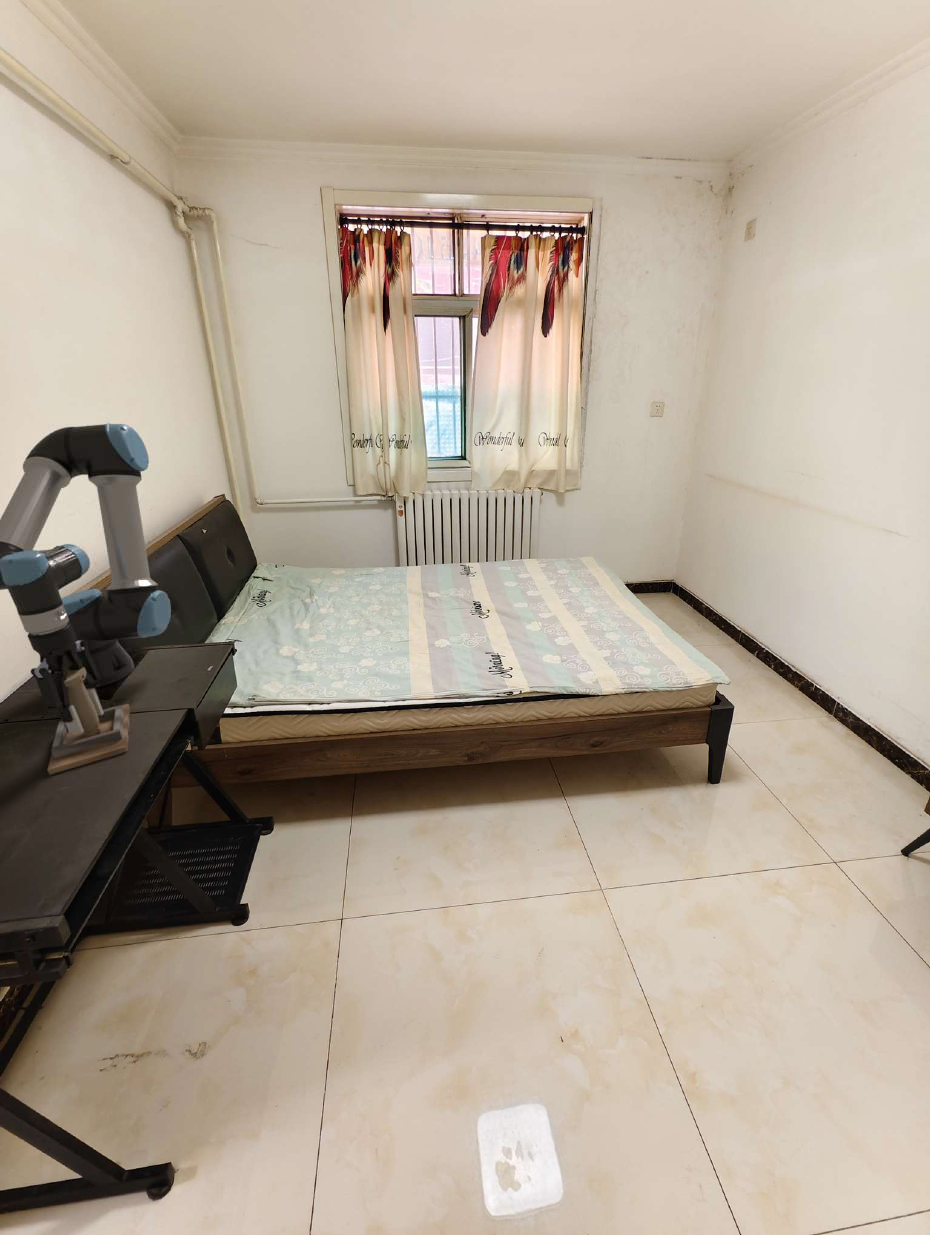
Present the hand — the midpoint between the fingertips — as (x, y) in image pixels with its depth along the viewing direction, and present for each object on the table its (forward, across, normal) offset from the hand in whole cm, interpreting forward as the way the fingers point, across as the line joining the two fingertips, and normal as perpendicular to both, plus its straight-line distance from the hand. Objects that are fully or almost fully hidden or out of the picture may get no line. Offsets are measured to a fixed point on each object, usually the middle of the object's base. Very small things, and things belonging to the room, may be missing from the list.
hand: (87, 722), depth 122 cm
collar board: (+4, 0, 0) cm, 4 cm away
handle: (+3, 0, 0) cm, 3 cm away
